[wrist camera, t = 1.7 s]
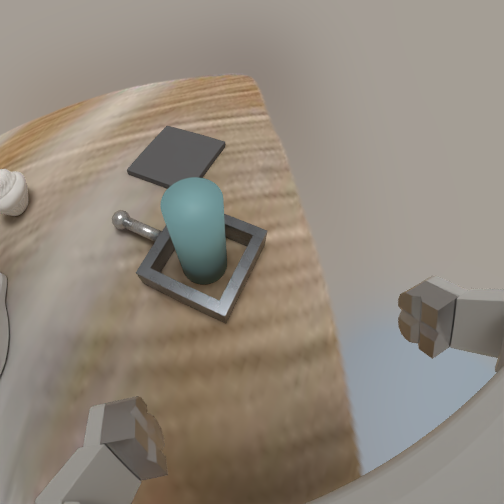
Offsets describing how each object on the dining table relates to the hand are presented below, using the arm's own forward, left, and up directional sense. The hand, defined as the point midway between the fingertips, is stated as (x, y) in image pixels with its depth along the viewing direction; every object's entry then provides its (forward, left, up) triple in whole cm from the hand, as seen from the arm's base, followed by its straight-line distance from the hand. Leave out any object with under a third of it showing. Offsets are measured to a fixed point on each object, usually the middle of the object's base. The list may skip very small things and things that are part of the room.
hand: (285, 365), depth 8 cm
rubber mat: (-19, +20, -18) cm, 33 cm away
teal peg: (-9, +9, -18) cm, 22 cm away
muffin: (-37, +5, -19) cm, 42 cm away
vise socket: (-12, +9, -18) cm, 24 cm away
